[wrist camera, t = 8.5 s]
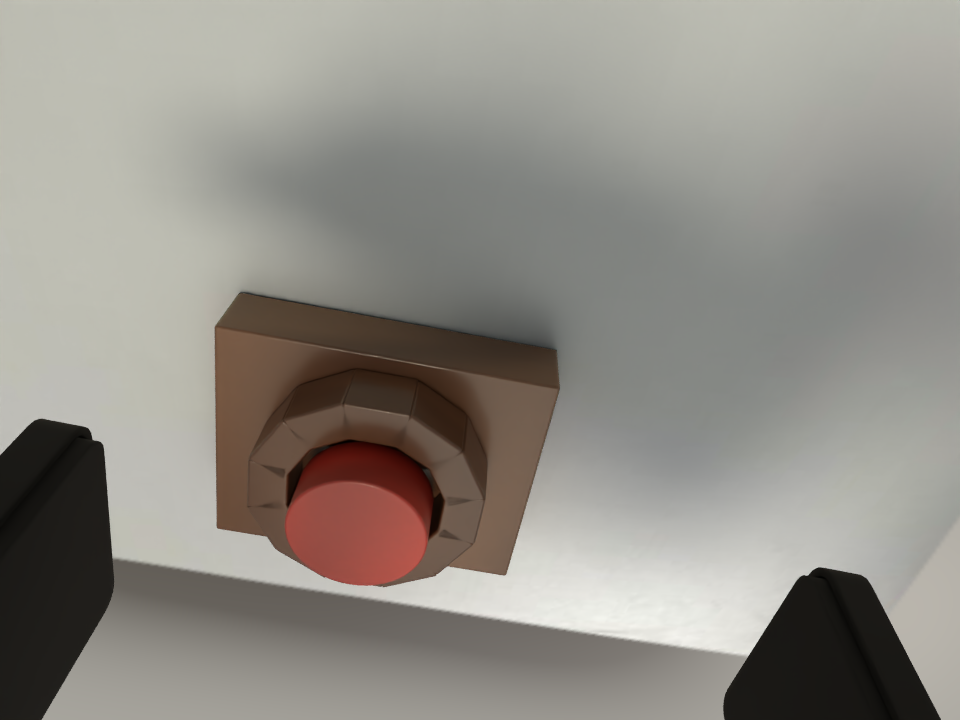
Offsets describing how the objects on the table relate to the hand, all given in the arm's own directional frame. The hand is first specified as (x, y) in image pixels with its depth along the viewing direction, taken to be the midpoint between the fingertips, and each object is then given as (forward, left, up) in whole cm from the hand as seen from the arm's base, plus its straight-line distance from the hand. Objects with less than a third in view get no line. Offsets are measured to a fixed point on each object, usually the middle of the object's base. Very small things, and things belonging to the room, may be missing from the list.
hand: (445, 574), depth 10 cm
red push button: (-6, +6, -10) cm, 12 cm away
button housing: (-6, +6, -13) cm, 15 cm away
